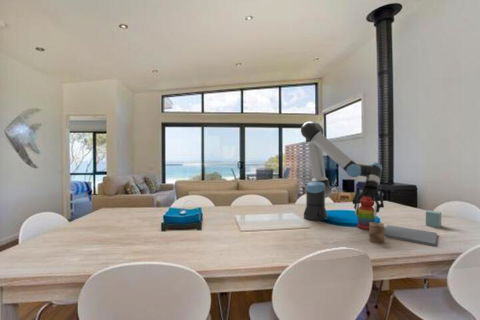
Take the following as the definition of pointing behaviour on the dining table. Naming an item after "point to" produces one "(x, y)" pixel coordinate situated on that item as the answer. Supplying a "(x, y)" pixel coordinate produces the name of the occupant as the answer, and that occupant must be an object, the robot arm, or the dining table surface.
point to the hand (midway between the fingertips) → (365, 215)
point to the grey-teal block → (433, 218)
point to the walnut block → (376, 232)
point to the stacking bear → (365, 213)
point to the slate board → (411, 235)
